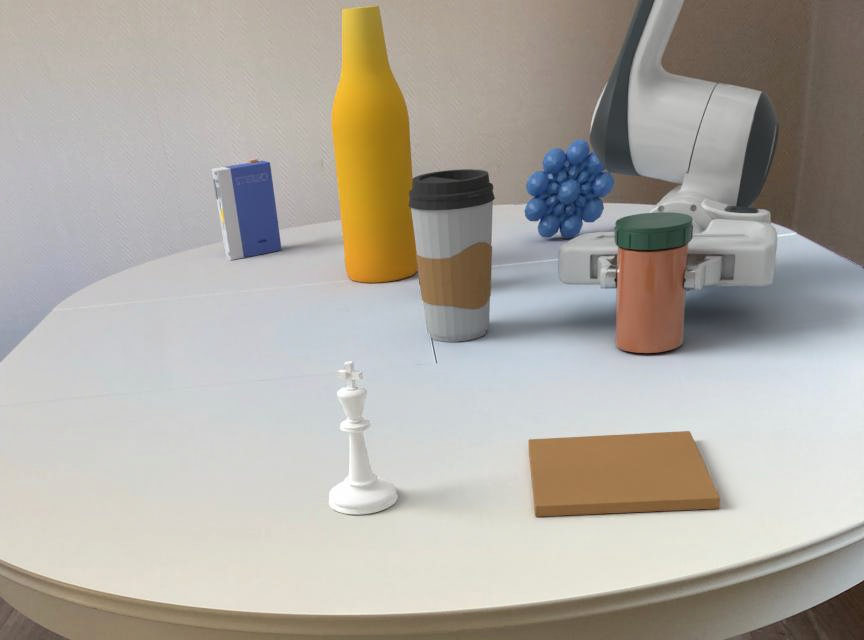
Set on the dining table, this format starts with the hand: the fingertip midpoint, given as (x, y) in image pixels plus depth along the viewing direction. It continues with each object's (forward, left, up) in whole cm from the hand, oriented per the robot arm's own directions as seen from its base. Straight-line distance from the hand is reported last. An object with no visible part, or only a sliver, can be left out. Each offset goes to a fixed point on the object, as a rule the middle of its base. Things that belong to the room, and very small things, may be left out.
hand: (649, 280), depth 96 cm
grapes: (+4, -51, -6) cm, 51 cm away
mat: (+6, +29, -6) cm, 30 cm away
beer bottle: (+28, -37, -6) cm, 47 cm away
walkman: (+48, -55, -6) cm, 73 cm away
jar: (0, -1, -6) cm, 6 cm away
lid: (0, -1, +5) cm, 5 cm away
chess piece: (+24, +31, -6) cm, 40 cm away
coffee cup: (+18, -9, -6) cm, 21 cm away
